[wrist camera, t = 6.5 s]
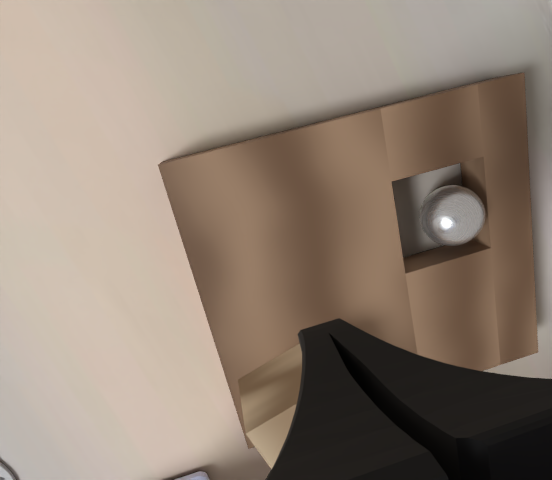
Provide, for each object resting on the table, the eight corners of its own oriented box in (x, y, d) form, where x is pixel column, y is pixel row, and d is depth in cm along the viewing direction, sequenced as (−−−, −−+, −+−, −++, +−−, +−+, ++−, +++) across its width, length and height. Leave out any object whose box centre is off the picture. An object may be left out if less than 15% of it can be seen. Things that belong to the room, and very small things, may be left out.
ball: (426, 228, 24) (410, 249, 22) (430, 175, 23) (413, 192, 20) (485, 236, 22) (475, 261, 20) (493, 180, 21) (483, 199, 19)
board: (244, 424, 24) (248, 448, 23) (162, 161, 20) (157, 165, 18) (513, 336, 26) (538, 352, 24) (495, 77, 22) (524, 72, 20)
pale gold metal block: (273, 431, 23) (288, 492, 19) (237, 379, 21) (245, 433, 17) (335, 395, 23) (363, 448, 19) (303, 341, 21) (325, 386, 18)
